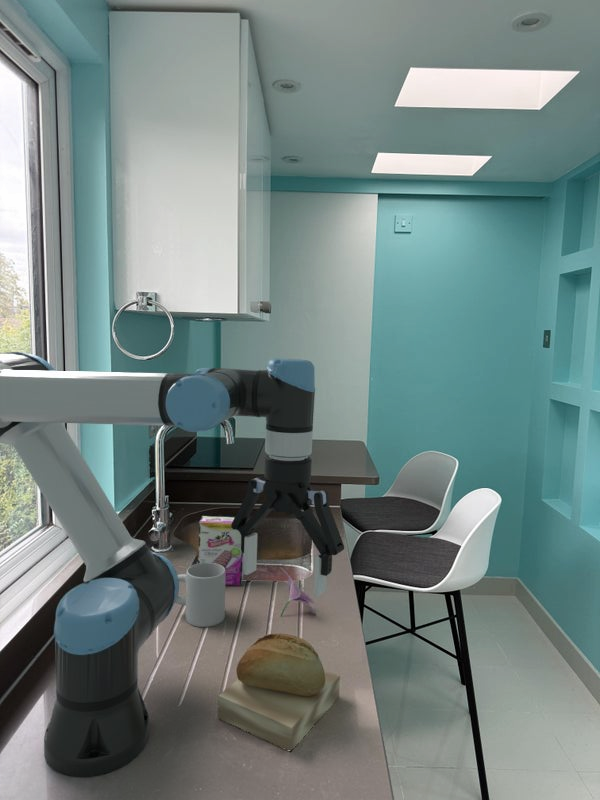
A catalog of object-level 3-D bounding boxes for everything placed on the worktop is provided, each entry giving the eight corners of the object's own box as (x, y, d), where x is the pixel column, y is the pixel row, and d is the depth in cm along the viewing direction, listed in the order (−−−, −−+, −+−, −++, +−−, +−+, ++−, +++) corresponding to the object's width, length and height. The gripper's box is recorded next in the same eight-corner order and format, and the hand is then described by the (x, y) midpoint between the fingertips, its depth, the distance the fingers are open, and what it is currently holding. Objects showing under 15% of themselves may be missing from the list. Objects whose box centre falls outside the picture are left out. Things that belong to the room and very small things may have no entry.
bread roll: (243, 665, 103) (244, 622, 102) (327, 673, 101) (328, 630, 100) (230, 698, 93) (231, 651, 92) (322, 708, 92) (324, 661, 91)
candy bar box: (197, 586, 143) (198, 521, 141) (200, 577, 148) (201, 515, 146) (242, 587, 143) (244, 523, 141) (244, 578, 148) (245, 516, 146)
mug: (228, 610, 131) (229, 563, 130) (219, 629, 123) (220, 579, 122) (177, 605, 132) (177, 559, 131) (164, 624, 124) (165, 575, 123)
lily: (313, 634, 124) (331, 591, 126) (263, 611, 124) (282, 569, 126) (306, 624, 136) (322, 584, 138) (260, 603, 135) (277, 564, 138)
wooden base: (290, 752, 87) (291, 727, 87) (217, 718, 94) (218, 695, 94) (338, 697, 101) (339, 675, 101) (272, 671, 108) (272, 651, 108)
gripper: (369, 462, 90) (362, 593, 92) (239, 442, 102) (236, 557, 105) (348, 471, 83) (341, 612, 86) (212, 448, 96) (209, 571, 98)
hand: (283, 582), depth 95 cm, fingers open, 13 cm apart
